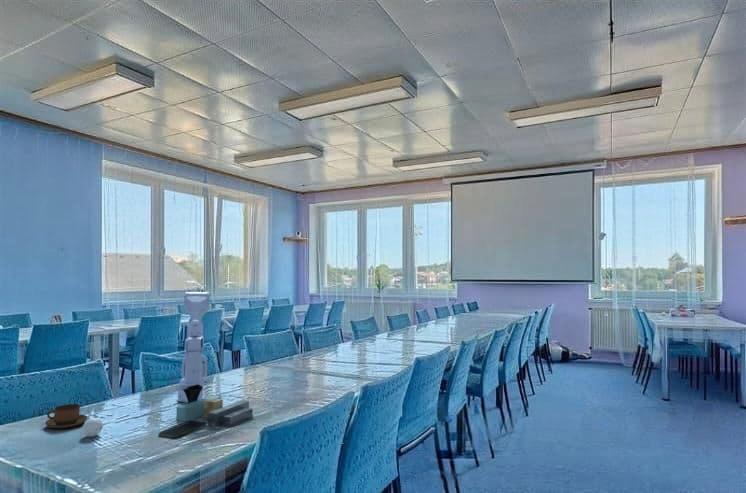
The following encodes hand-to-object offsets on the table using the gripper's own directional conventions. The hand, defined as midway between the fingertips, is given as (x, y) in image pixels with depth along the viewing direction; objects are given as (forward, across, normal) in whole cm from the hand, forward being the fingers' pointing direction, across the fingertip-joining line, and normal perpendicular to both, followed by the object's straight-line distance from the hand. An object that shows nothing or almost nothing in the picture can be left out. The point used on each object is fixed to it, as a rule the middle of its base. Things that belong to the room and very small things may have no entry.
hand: (192, 406), depth 179 cm
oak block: (+2, 0, -10) cm, 10 cm away
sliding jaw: (+2, 0, -4) cm, 4 cm away
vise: (+2, 0, -20) cm, 20 cm away
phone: (+3, -16, -12) cm, 20 cm away
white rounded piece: (+3, -32, +9) cm, 33 cm away
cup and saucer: (+3, -30, +27) cm, 40 cm away
